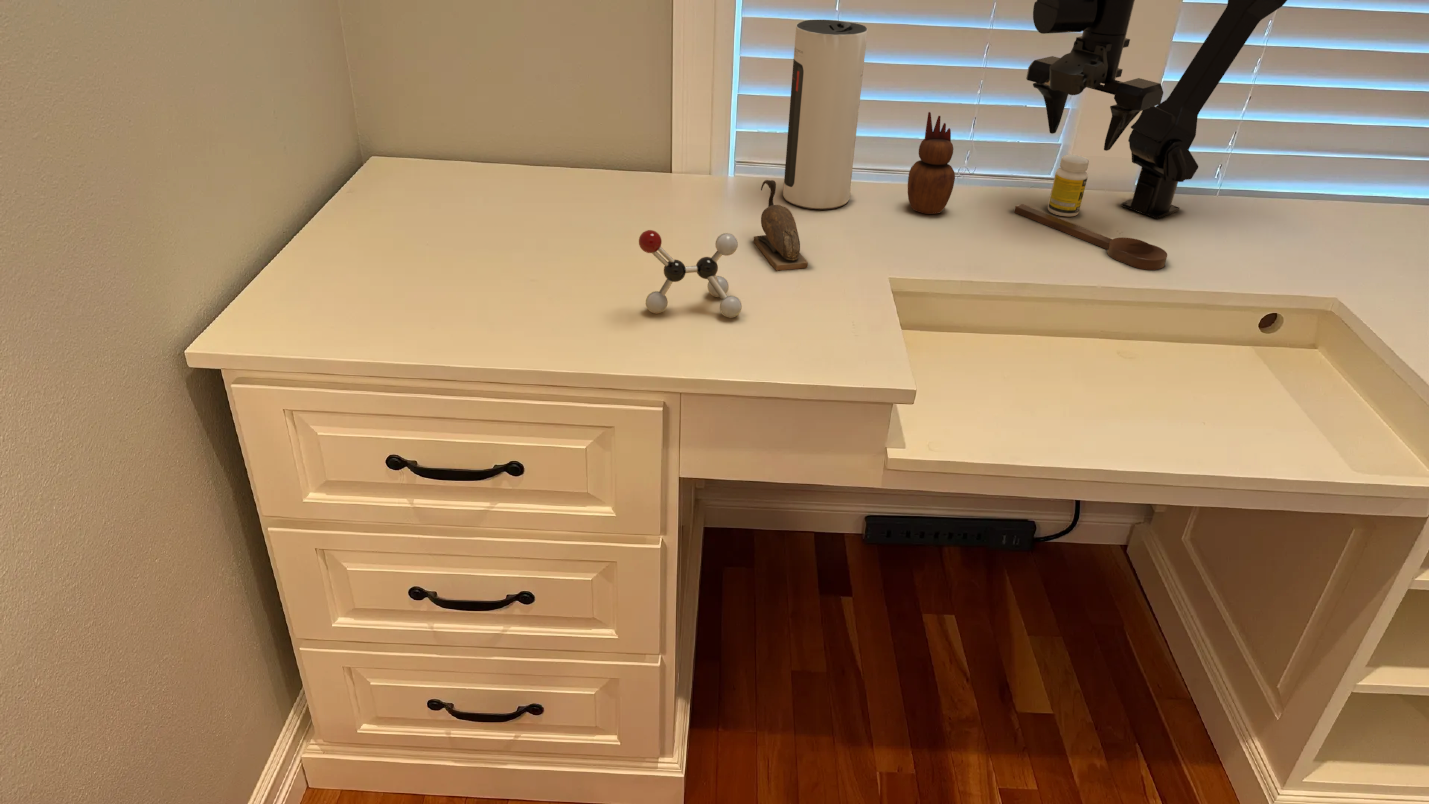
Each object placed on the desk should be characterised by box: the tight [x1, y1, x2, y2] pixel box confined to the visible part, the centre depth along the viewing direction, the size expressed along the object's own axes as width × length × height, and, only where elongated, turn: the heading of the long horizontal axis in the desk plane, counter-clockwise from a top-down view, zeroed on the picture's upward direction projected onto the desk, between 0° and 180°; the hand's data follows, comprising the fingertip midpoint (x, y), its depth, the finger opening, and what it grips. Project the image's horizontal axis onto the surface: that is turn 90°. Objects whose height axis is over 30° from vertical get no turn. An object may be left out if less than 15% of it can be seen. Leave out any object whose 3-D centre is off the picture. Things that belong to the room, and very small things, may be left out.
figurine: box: [752, 179, 809, 271], centre depth 135 cm, size 14×4×9 cm, turn 17°
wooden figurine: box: [907, 111, 956, 215], centre depth 147 cm, size 7×6×15 cm
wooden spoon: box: [1013, 203, 1168, 271], centre depth 144 cm, size 24×6×2 cm, turn 38°
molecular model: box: [638, 229, 743, 319], centre depth 118 cm, size 8×12×11 cm
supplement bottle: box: [1047, 154, 1090, 217], centre depth 151 cm, size 5×5×8 cm
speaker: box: [782, 19, 869, 210], centre depth 147 cm, size 11×10×26 cm
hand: (1079, 141), depth 145 cm, fingers open, 9 cm apart
